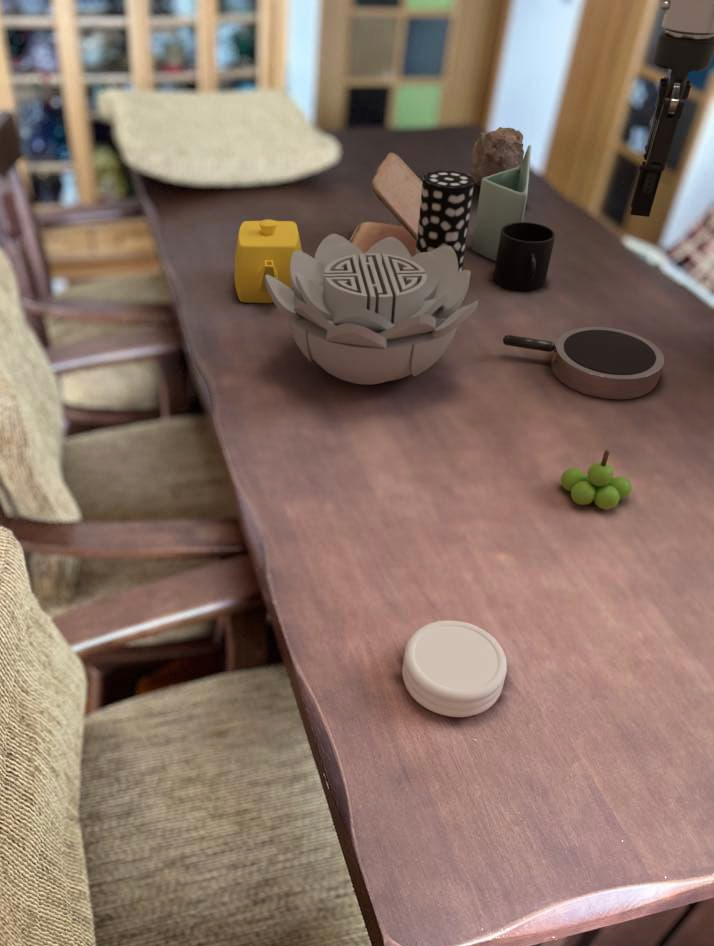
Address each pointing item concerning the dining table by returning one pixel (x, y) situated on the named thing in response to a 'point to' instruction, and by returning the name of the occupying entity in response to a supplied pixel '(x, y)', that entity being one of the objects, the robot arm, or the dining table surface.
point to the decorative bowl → (373, 307)
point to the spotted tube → (445, 212)
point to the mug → (523, 255)
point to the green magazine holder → (500, 206)
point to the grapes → (596, 485)
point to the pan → (601, 361)
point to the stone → (496, 153)
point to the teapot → (263, 257)
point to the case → (393, 206)
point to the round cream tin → (454, 668)
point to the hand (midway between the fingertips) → (639, 210)
